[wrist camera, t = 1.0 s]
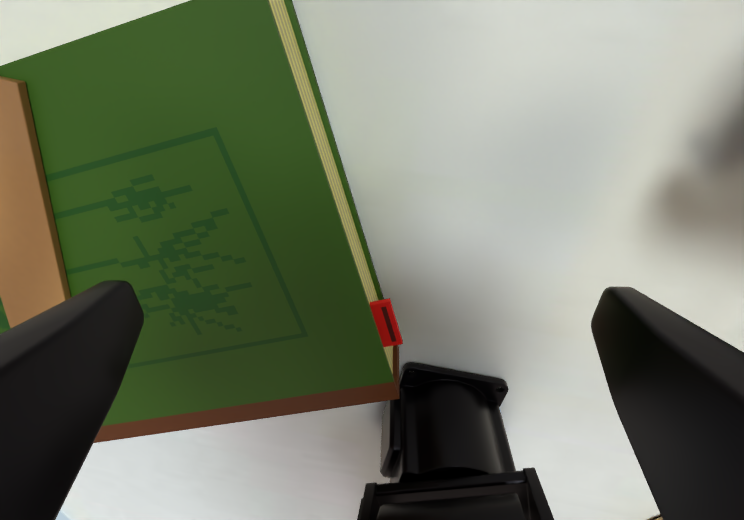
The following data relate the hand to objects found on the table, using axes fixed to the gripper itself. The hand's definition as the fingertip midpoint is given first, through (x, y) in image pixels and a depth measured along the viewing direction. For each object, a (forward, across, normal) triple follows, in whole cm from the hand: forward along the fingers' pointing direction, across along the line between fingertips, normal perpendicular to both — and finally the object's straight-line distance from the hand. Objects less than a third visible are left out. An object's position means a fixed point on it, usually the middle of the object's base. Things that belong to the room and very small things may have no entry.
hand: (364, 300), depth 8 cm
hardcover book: (+12, +12, +7) cm, 19 cm away
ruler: (+8, +15, +6) cm, 19 cm away
